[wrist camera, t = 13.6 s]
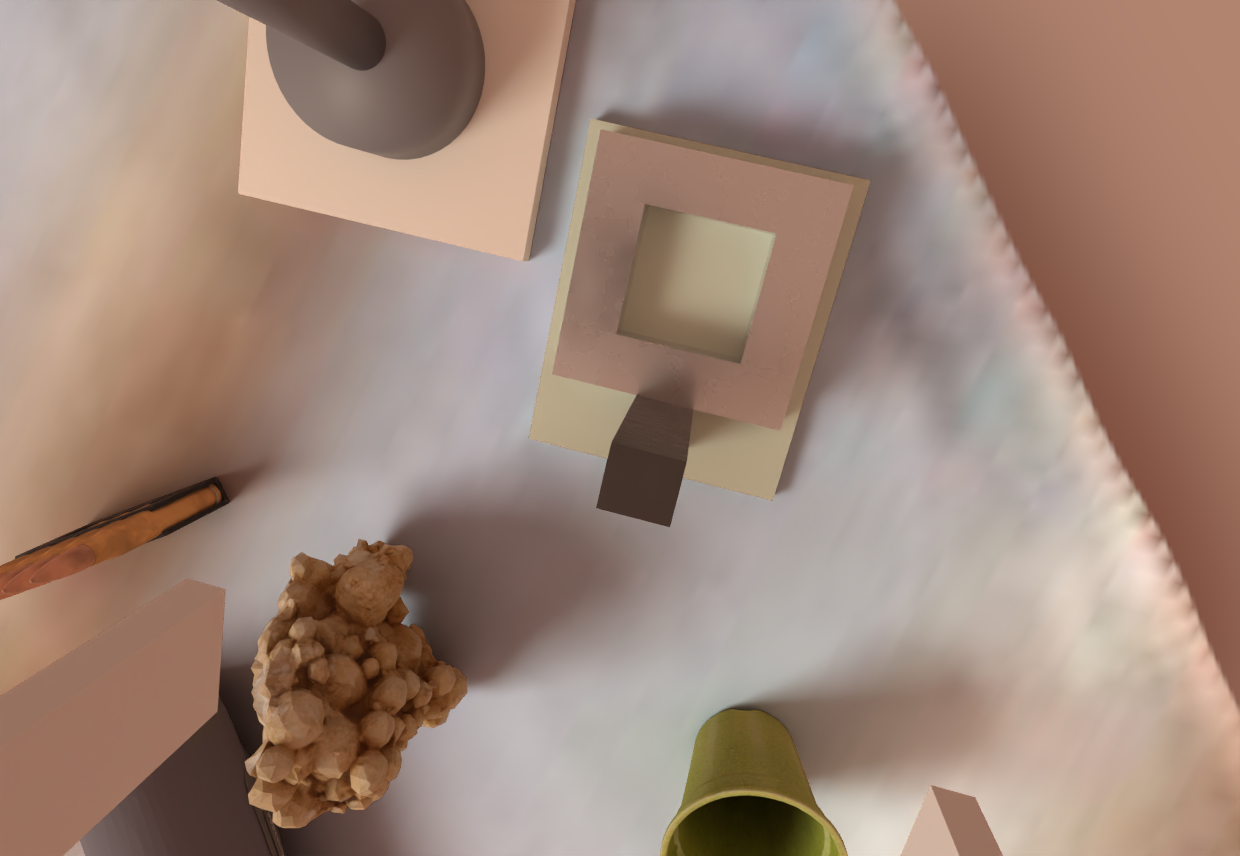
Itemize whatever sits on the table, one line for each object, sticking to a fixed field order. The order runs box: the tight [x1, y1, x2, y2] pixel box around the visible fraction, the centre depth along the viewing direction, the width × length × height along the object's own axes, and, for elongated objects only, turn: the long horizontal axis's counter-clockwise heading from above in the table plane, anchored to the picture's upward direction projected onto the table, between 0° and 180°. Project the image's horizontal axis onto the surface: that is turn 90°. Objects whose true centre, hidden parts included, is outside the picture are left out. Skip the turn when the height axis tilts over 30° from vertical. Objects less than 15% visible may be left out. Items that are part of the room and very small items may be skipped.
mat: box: [529, 119, 871, 501], centre depth 36 cm, size 17×14×1 cm
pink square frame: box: [552, 129, 854, 527], centre depth 30 cm, size 15×12×11 cm
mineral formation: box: [245, 539, 467, 828], centre depth 36 cm, size 8×13×15 cm, turn 21°
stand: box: [217, 0, 576, 261], centre depth 28 cm, size 16×16×15 cm
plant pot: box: [660, 709, 848, 856], centre depth 39 cm, size 9×9×9 cm
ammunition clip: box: [0, 477, 229, 600], centre depth 38 cm, size 11×2×12 cm, turn 111°
